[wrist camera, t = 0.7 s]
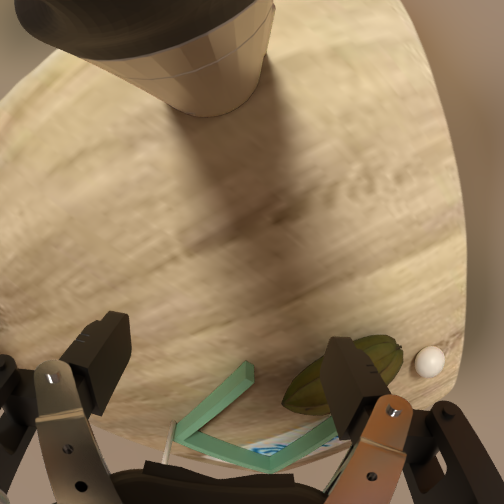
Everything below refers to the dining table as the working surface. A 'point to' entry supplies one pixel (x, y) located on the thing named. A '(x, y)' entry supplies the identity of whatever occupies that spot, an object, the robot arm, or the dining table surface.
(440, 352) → the golf ball
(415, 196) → the dining table surface
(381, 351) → the fruit
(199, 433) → the mint frame with pennant
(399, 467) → the robot arm
